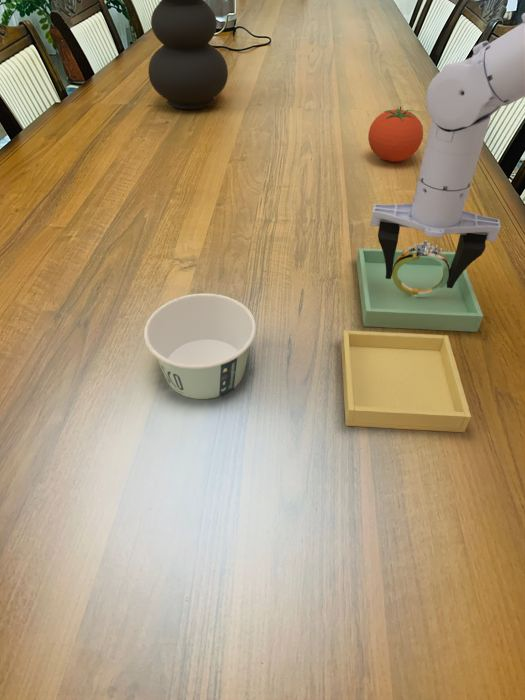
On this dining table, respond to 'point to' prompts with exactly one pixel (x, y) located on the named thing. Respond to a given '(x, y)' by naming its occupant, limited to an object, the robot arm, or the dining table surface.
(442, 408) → the yellow tray
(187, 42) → the vase
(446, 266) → the ring
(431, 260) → the green tray
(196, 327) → the food container
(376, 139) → the tomato
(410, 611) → the dining table surface
